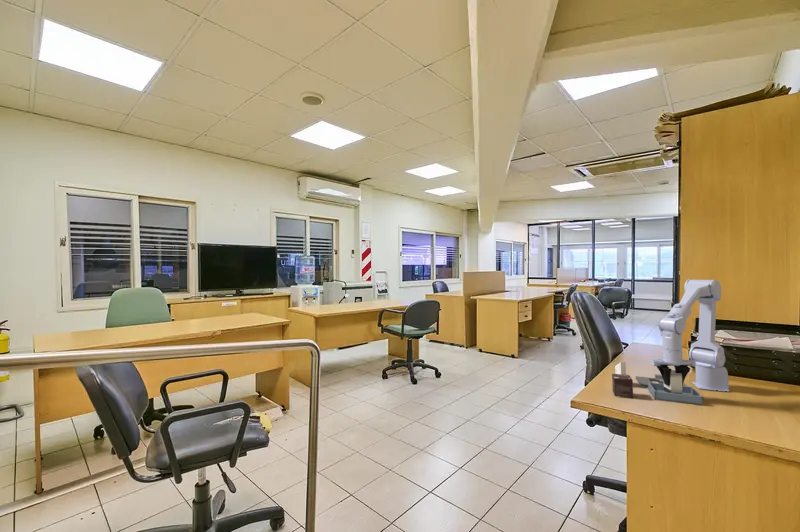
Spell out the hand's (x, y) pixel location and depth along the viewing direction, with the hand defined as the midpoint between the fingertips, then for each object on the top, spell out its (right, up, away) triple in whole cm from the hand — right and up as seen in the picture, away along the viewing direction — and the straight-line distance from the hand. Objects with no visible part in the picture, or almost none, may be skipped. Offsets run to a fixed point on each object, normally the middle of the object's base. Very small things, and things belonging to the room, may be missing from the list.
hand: (673, 384), depth 127 cm
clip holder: (+5, -5, +13) cm, 15 cm away
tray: (0, -5, 0) cm, 5 cm away
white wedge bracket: (-9, -5, +15) cm, 18 cm away
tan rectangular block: (0, -3, 0) cm, 3 cm away
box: (-17, -6, +4) cm, 18 cm away
